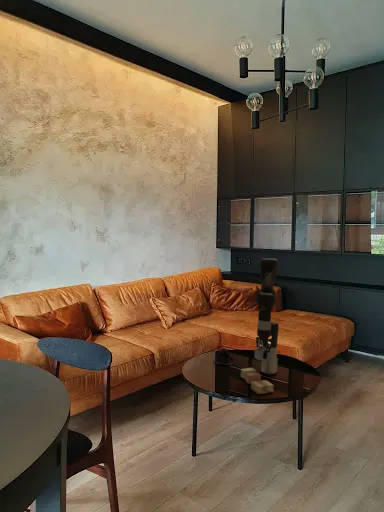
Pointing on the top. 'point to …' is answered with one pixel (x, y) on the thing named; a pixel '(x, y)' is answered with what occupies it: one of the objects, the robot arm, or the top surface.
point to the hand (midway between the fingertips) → (262, 357)
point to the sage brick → (247, 370)
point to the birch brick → (262, 386)
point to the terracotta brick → (252, 377)
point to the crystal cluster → (224, 358)
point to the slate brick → (261, 354)
